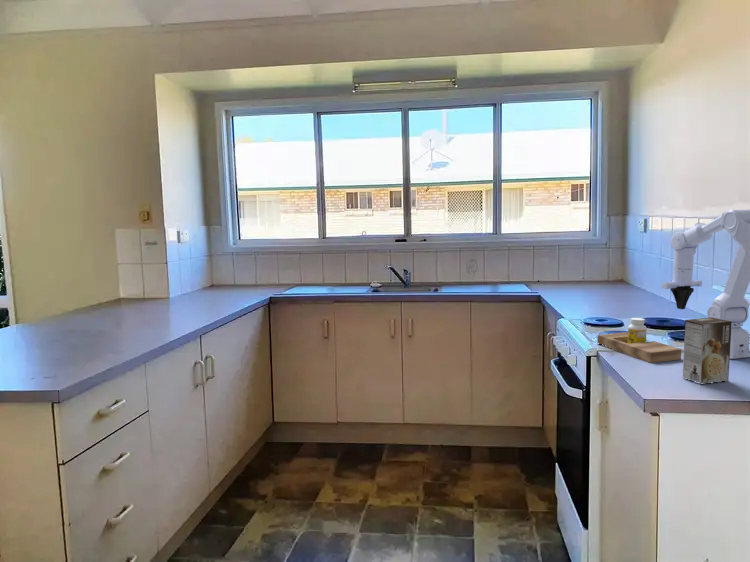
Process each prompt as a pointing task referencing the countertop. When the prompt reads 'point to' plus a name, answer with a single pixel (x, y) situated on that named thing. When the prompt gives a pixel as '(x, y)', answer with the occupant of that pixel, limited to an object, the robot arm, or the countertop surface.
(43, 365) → the countertop surface
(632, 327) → the supplement bottle
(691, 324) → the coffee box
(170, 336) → the countertop surface
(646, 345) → the board
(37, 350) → the countertop surface
